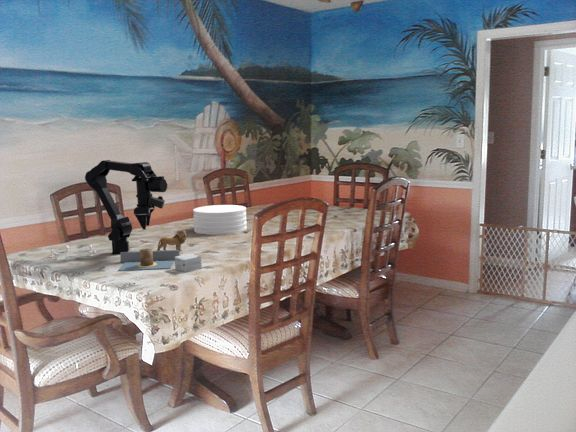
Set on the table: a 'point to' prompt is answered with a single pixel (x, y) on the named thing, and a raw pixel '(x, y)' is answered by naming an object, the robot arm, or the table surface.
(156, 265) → the mat
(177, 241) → the lion figurine
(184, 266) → the small box
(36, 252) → the table surface
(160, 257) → the low wall
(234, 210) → the plate stack
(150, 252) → the brown rounded cylinder
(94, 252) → the game piece set
